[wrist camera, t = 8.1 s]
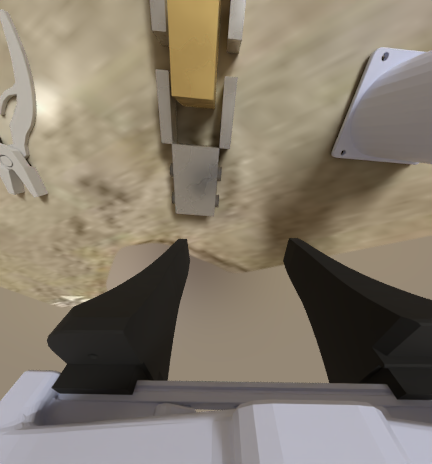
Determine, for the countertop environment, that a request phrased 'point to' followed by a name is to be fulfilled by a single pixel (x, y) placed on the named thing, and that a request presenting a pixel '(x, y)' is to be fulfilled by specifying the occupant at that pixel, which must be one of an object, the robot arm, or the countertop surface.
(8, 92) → the pliers
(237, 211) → the countertop surface
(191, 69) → the brushed brass bar
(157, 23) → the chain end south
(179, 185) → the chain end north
